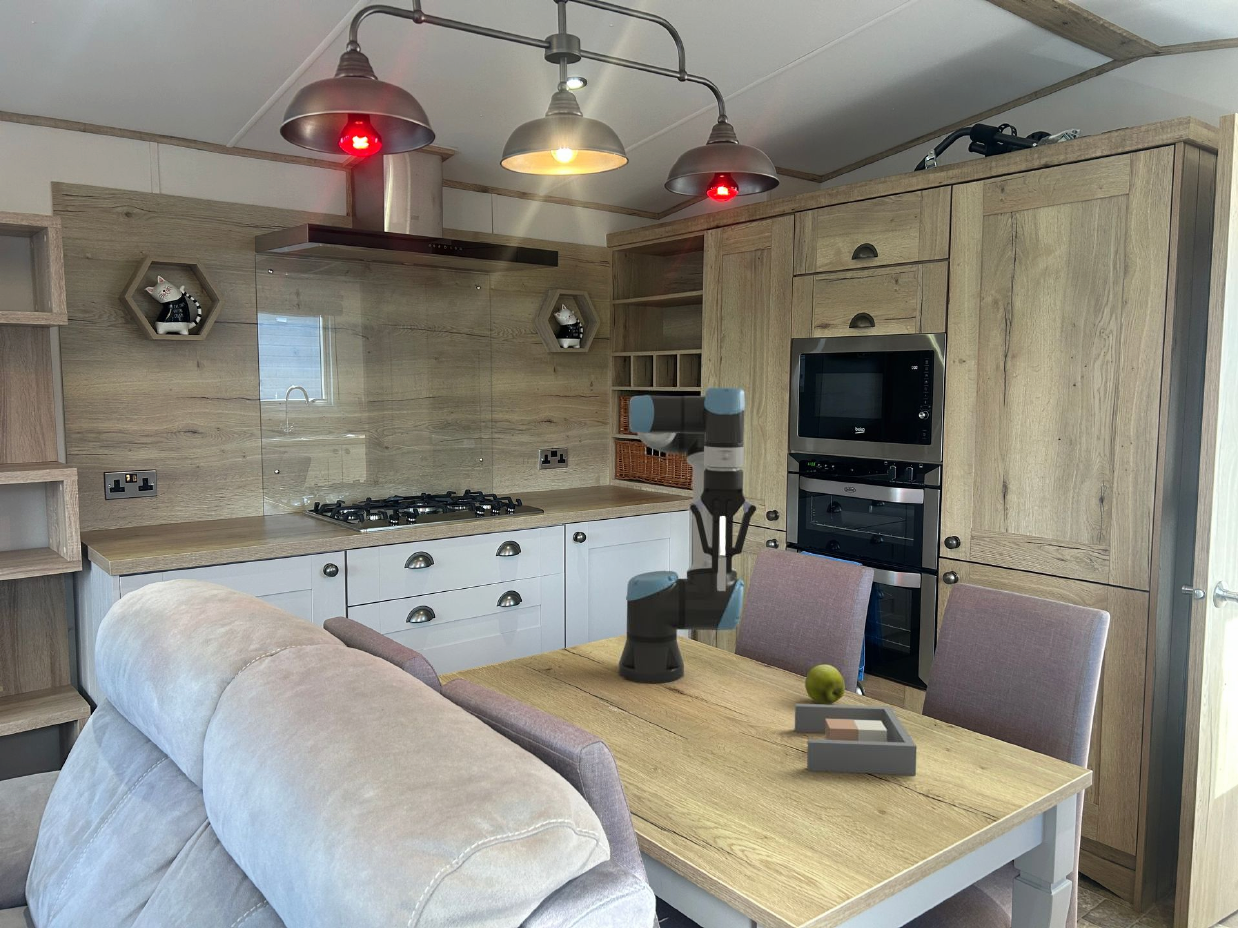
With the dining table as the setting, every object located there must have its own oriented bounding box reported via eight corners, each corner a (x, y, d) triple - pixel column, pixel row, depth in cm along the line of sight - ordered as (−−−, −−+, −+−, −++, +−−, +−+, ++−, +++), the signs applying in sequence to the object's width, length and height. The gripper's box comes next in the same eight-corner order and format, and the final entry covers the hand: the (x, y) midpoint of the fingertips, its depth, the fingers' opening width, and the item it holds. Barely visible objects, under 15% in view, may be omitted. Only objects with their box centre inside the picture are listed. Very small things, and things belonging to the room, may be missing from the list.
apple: (828, 694, 196) (829, 658, 196) (852, 708, 188) (853, 670, 187) (796, 698, 194) (797, 661, 193) (819, 711, 185) (820, 673, 184)
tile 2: (852, 746, 167) (853, 719, 167) (880, 747, 167) (881, 720, 166) (857, 756, 162) (858, 729, 162) (886, 757, 162) (887, 730, 161)
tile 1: (824, 744, 167) (825, 718, 167) (852, 745, 167) (853, 719, 167) (829, 755, 162) (829, 728, 162) (857, 756, 162) (858, 729, 162)
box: (794, 728, 175) (795, 703, 175) (889, 732, 174) (890, 706, 174) (808, 770, 155) (808, 742, 155) (915, 774, 154) (916, 746, 154)
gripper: (690, 470, 170) (688, 593, 173) (760, 471, 170) (757, 594, 172) (688, 465, 178) (686, 584, 180) (755, 466, 177) (752, 585, 180)
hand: (721, 589), depth 176 cm, fingers closed
